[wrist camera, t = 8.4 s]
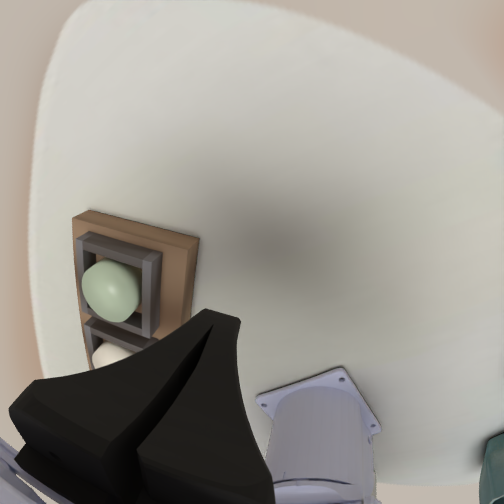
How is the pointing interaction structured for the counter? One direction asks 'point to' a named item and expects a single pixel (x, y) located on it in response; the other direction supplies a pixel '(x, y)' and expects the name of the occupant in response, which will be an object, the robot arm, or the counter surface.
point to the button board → (153, 278)
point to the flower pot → (493, 473)
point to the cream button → (109, 354)
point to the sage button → (113, 289)
